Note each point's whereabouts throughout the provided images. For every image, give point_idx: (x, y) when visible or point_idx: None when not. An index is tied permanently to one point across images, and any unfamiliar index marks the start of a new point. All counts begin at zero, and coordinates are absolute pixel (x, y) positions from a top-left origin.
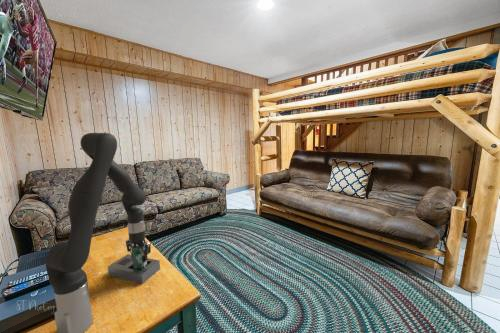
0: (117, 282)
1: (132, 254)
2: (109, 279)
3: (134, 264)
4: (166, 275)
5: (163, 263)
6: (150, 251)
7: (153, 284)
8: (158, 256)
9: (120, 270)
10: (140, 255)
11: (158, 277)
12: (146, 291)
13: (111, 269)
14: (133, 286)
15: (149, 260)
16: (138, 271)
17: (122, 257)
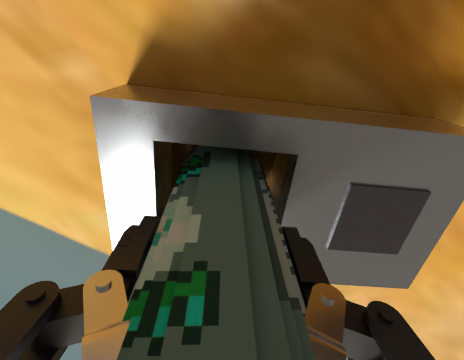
0: (322, 63)
1: (265, 264)
2: (404, 82)
3: (231, 180)
4: (50, 187)
5: None
6: (29, 347)
7: (49, 94)
8: None
9: (347, 121)
10: (152, 269)
11: (81, 162)
12: (25, 11)
13: (443, 128)
14: (170, 45)
15: None
16: (159, 129)
17: (426, 255)
